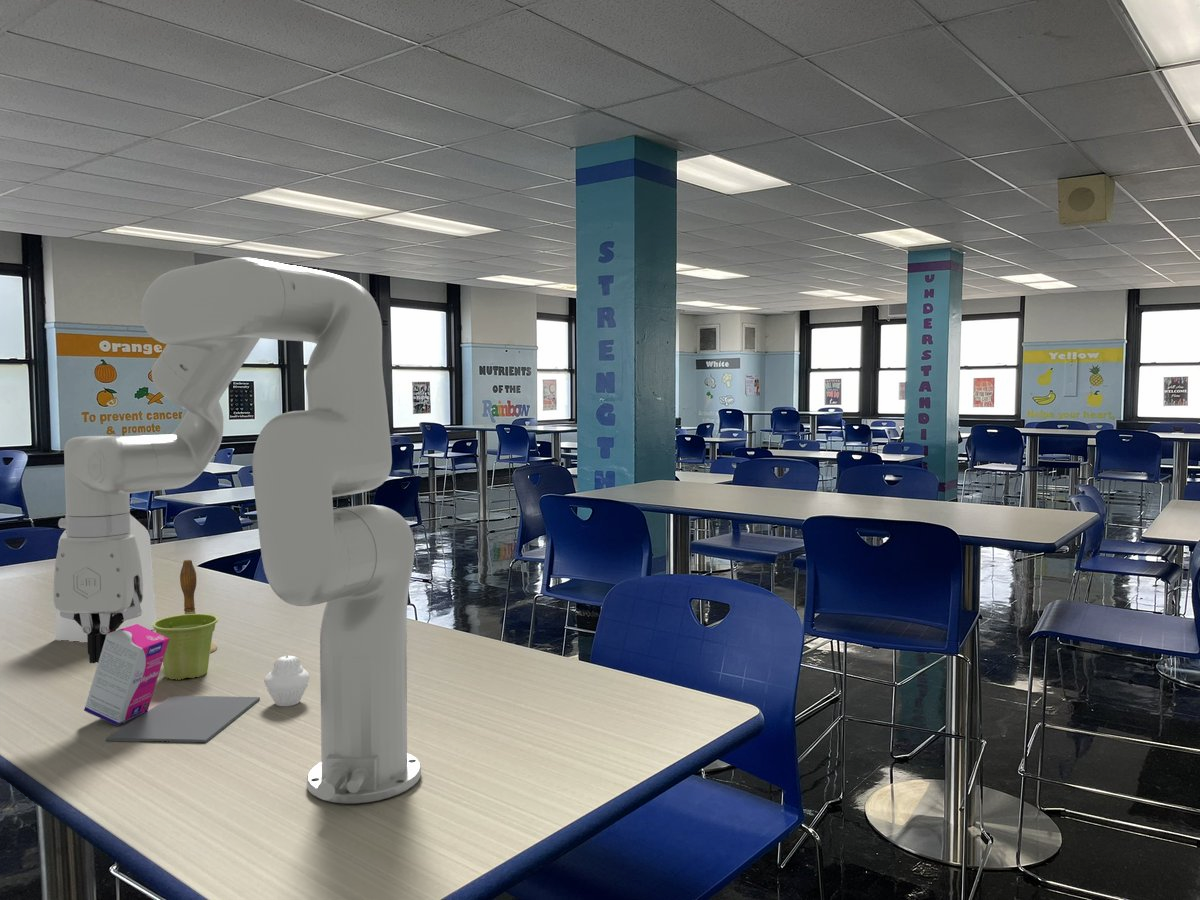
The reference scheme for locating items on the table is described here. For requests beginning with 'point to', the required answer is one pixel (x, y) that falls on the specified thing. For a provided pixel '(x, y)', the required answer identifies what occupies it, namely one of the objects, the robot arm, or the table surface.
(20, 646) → the table surface
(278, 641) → the table surface
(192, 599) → the hand bell
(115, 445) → the robot arm
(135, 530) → the milk
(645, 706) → the table surface
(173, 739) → the mat
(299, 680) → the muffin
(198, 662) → the plant pot
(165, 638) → the supplement box
